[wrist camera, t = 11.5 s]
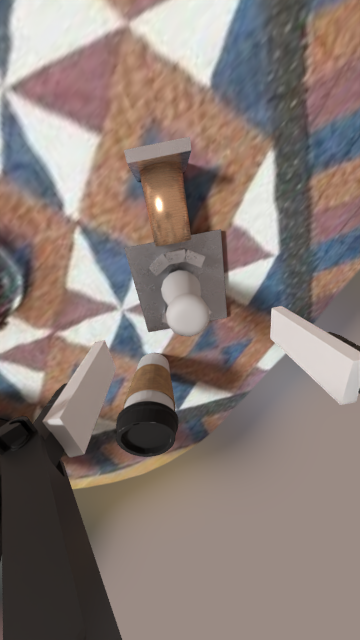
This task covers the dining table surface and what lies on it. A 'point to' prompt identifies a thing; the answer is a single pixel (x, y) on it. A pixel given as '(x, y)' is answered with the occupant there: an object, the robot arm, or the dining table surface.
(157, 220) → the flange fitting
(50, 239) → the dining table surface
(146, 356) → the coffee cup
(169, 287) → the salt shaker
